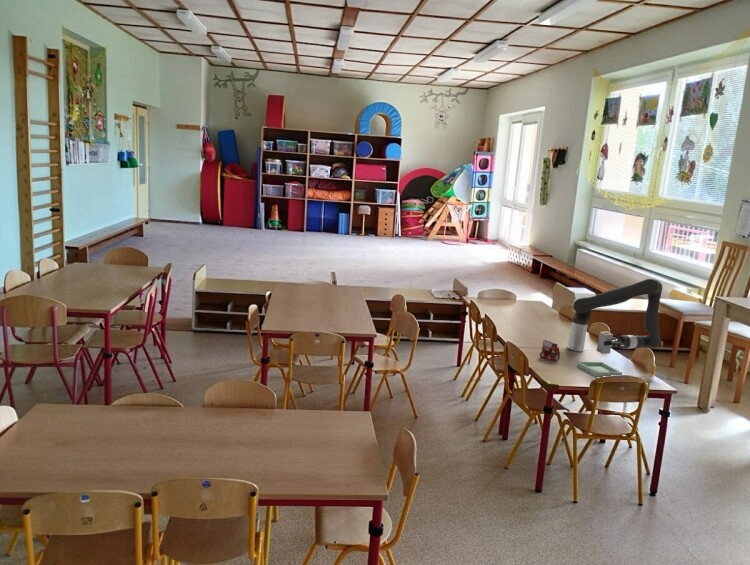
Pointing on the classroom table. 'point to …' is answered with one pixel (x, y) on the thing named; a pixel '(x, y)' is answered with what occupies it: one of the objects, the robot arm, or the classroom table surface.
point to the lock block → (603, 337)
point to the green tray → (598, 369)
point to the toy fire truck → (550, 351)
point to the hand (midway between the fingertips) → (601, 341)
